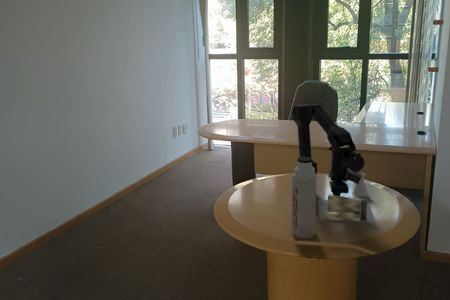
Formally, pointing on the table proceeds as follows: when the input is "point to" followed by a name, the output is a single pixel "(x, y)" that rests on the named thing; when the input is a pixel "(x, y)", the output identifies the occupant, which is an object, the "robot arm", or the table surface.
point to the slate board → (324, 207)
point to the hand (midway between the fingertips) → (336, 201)
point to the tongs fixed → (348, 214)
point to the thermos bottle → (304, 198)
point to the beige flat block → (343, 204)
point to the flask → (360, 188)
